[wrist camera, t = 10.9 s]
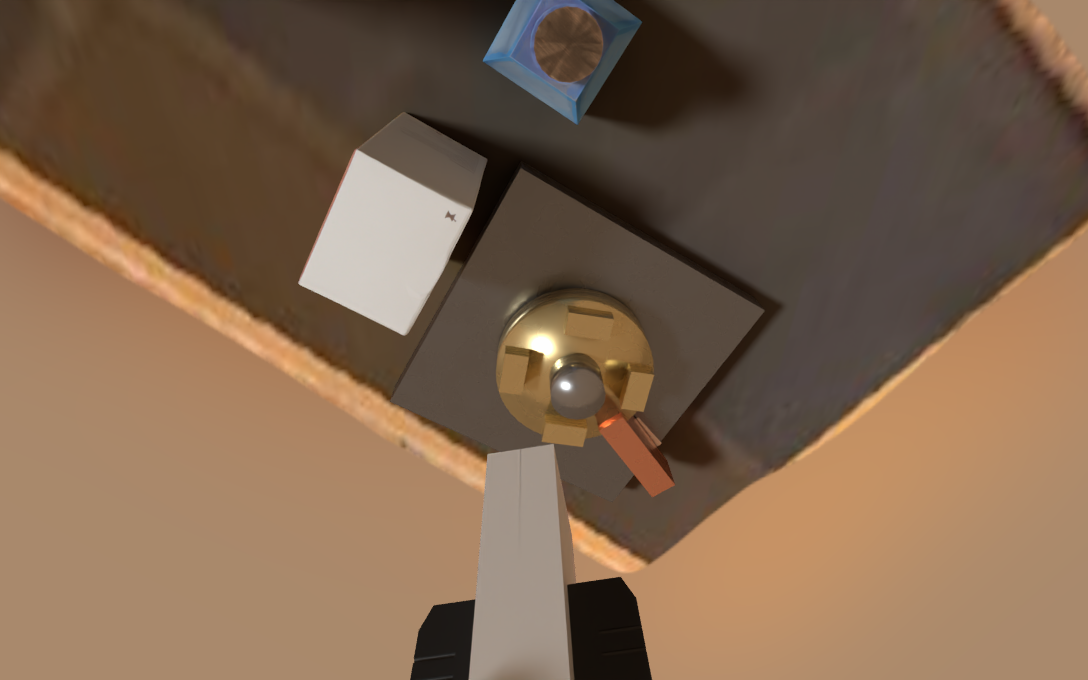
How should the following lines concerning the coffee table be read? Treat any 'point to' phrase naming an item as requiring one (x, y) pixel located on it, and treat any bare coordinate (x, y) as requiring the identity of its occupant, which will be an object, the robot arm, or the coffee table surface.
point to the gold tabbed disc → (621, 356)
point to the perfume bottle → (562, 49)
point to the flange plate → (569, 261)
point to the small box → (394, 222)
